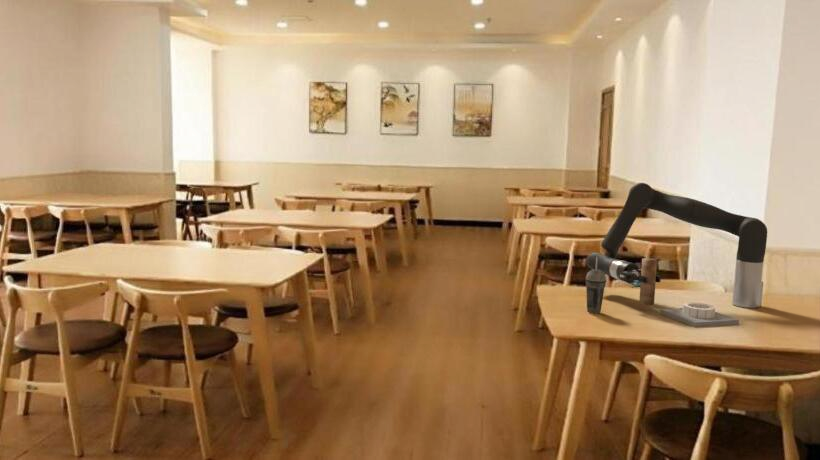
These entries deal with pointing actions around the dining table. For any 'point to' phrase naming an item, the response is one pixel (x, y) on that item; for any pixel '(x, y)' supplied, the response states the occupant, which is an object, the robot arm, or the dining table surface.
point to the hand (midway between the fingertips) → (653, 280)
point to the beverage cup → (595, 289)
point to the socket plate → (698, 320)
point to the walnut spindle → (648, 281)
